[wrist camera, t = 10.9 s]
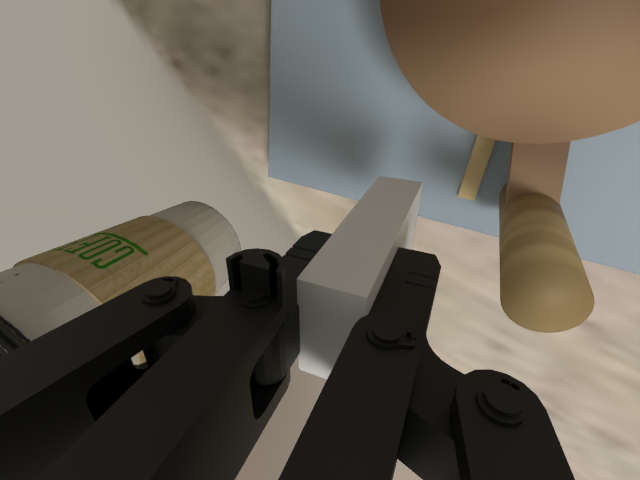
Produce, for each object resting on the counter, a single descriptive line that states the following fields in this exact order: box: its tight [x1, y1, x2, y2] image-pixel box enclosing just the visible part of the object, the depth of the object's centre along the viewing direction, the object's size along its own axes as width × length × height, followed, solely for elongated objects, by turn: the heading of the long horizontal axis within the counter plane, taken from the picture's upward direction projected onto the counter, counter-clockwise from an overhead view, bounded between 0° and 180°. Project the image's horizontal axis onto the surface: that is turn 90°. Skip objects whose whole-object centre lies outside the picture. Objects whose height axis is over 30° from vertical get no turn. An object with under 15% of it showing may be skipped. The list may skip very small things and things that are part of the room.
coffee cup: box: [0, 201, 241, 365], centre depth 20 cm, size 10×10×15 cm
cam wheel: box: [380, 0, 640, 333], centre depth 9 cm, size 14×10×7 cm
